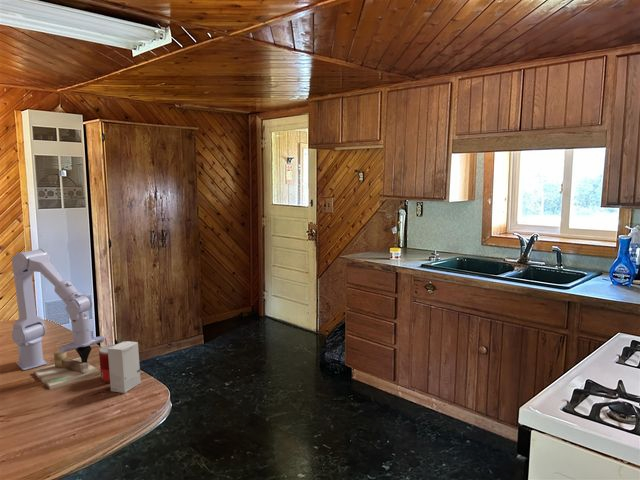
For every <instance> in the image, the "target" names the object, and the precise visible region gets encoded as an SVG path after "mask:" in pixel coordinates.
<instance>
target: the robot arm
mask: <svg viewBox="0 0 640 480" xmlns="http://www.w3.org/2000/svg"><path fill="white" fill-rule="evenodd" d="M11 262H12V263H11V265H12V272H13V278H14V287H15V294H16V302H17V310H18V319H16V321H15V322H14V323H13V324H12V332H11V338H12V341H13V342H14V344H16V345H17V352H18V353H17V354H18V361H16V365H17V366H18V367H19V368H20V369H21V370H22V371H27V370H31V369H34V368H38V367H42V366H44V365H47V364H48V362H47V361H46V360H45V359H44V352H43V343H42V341H43V340H44V337H45V335H46V333H47V332H46V331H47V330H46V329H47V328H46V325H45V324H44V320H43V318H42V317H40V316H38V315H37V309H36V302H35V301H36V300H35V293H34V287H33V286H34V284H33V278H32V275H33V274H34V273H36V272H37V273H40V274H41V275H42V276H43V277H44V278H45V279H47V280H48V281H49V282H50V283H51V284H52V285H53V287H54V292H55V294H56V295H57V296H58V297H59V298H60V299H61V301H62V302H63V303H64V304H65V310H66V312H67V314H68V318H69V320H70V322H71V334H72V342H69V343H67V344H64V345H61V346H59V351H60V352H61V353H65V352H67V353H68V352H70V351H73V350H75V351H76V352H77V354H78V355H79V358H80V357H81V362H83V363H89V362H88V359H89V357H90V353H91V351H92V346H93V345H95V344H99V343H105V341H106V340H105V337H104V336H103V335H100V336H93V337H92V333H91V324H90V323H91V322H90V311H89V310H91V309H92V305H93V303H92V299H91V297H90V296H89V295H87V294H84V293H82V292H80V291H79V290H78V289H77V288H76V287H75V285H73V283H72V282H71V281H70V280H64V278H63V277H62V276H61V274H60V273H59V272H58V270H57V268H55V266H53V263H51V256H50V254H49V253H47V251H46V250H45V249H43V248H38V249H33V250H27V251H23V252H17V253H15V254H14V255H13V256H12V257H11Z"/></svg>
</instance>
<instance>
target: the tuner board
mask: <svg viewBox="0 0 640 480" xmlns="http://www.w3.org/2000/svg"><path fill="white" fill-rule="evenodd" d="M71 360H75V361H79V362H81V357H80V356H79V357H77V358H73V359H71ZM88 369H89V370H90V371H88V372H86V373H84V374H83V373H79V372H78V371H74V370H71V369H67V368H63V367H62V368H56V367H55V363H54V364H50V365H47V366H43V367H40V368H37V369H34V370H33V374H34V375H35V376H36V377H37V378H38V379H39V380H40V381H41V382H42V383H43V384H44V385H45V386H46V387H47V388H48V389H49V390H53V389H56V388H59V387H62V386H66V385H69V384H72V383H76V382H78V381H82V380H85V379H88V378H91V377H94V376H98V375H101V371H100V370H99V369H97V368H96V367H95V366H94V365H92V364H91V363H89V362H88ZM64 376H67V380H62V381H56V382H50V380H51V379H52V378H58V377H64Z"/></svg>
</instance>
